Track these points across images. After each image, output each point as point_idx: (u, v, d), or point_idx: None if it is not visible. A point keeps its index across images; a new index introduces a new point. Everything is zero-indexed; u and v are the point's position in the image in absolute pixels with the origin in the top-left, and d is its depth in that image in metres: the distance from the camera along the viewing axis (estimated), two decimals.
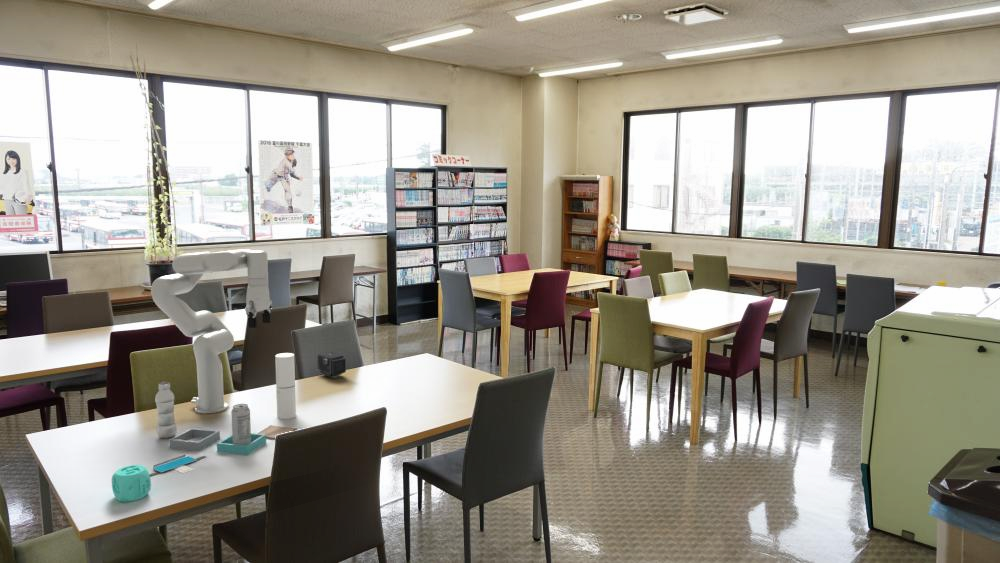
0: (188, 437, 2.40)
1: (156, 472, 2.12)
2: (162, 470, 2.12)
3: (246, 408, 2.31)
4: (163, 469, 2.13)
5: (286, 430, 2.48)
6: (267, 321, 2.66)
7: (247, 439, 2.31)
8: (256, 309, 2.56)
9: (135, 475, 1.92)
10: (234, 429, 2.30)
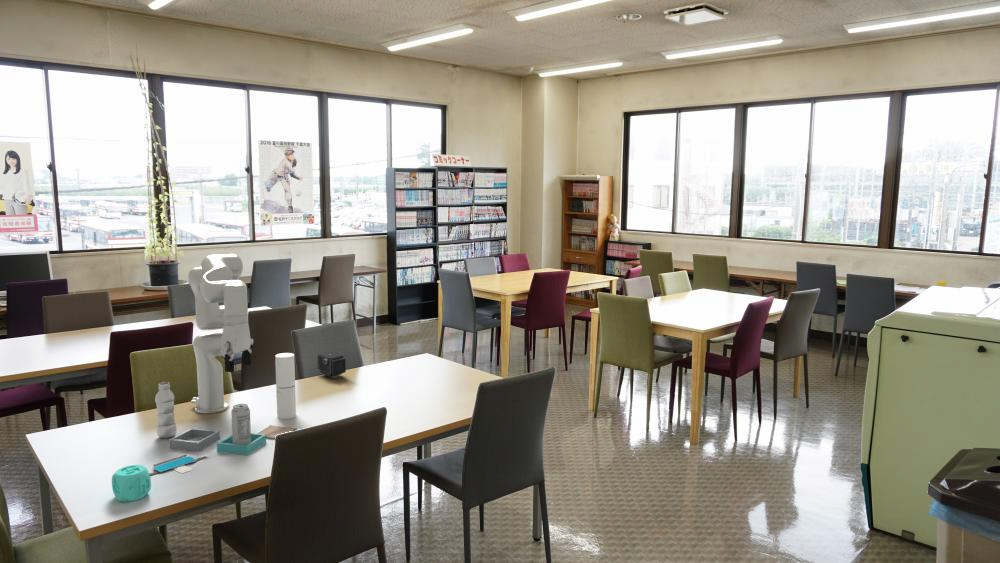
0: (188, 437, 2.40)
1: (155, 472, 2.12)
2: (161, 470, 2.12)
3: (246, 408, 2.31)
4: (162, 469, 2.13)
5: (286, 430, 2.48)
6: (247, 363, 2.34)
7: (247, 439, 2.31)
8: (233, 351, 2.24)
9: (135, 475, 1.92)
10: (234, 429, 2.30)
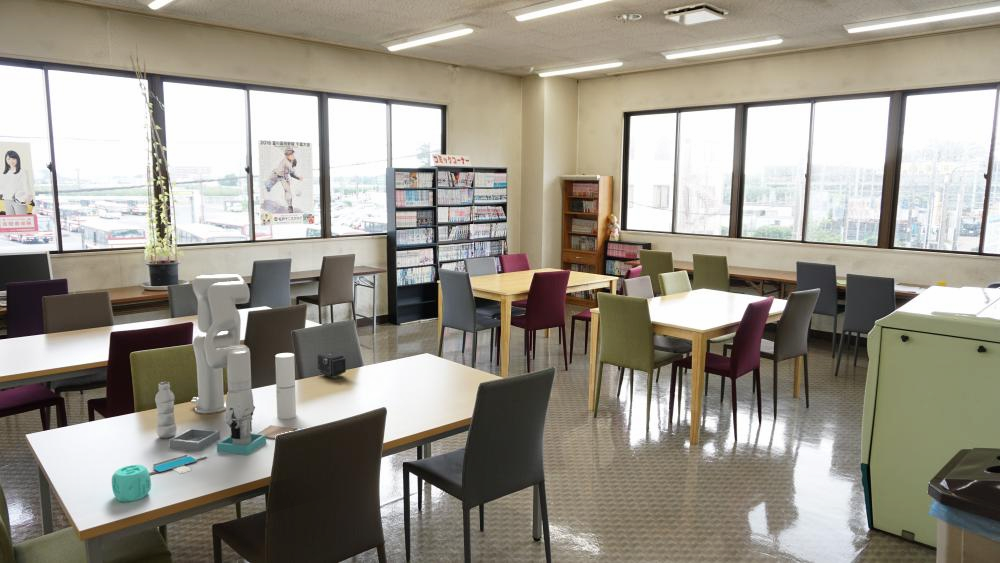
0: (188, 437, 2.40)
1: (155, 471, 2.12)
2: (161, 469, 2.12)
3: (246, 408, 2.31)
4: (162, 468, 2.13)
5: (286, 430, 2.48)
6: None
7: (247, 439, 2.31)
8: (237, 417, 2.27)
9: (135, 475, 1.92)
10: None
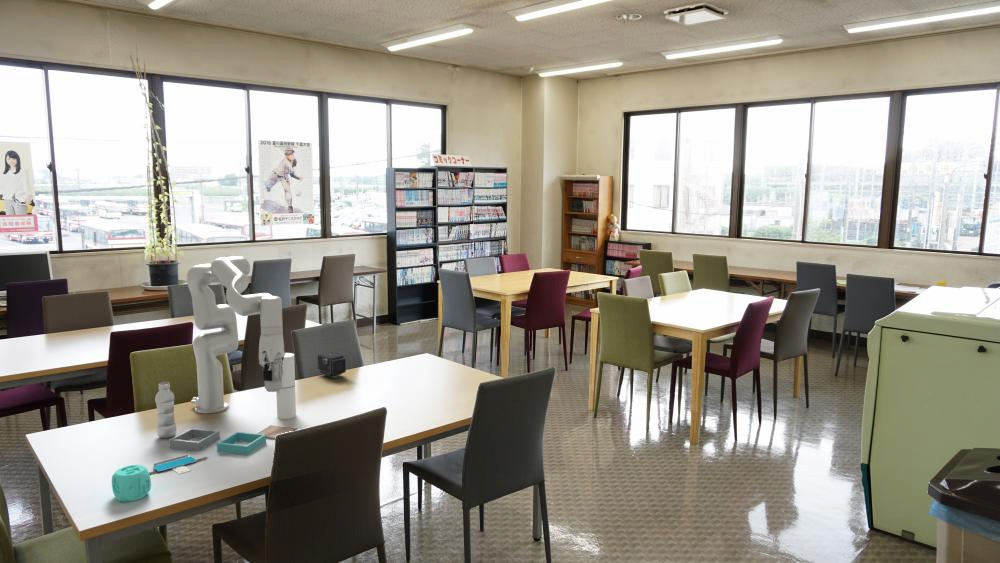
0: (188, 437, 2.40)
1: (154, 471, 2.12)
2: (160, 469, 2.12)
3: (278, 352, 2.42)
4: (161, 468, 2.13)
5: (286, 430, 2.48)
6: None
7: (278, 382, 2.42)
8: (269, 360, 2.38)
9: (135, 475, 1.92)
10: None
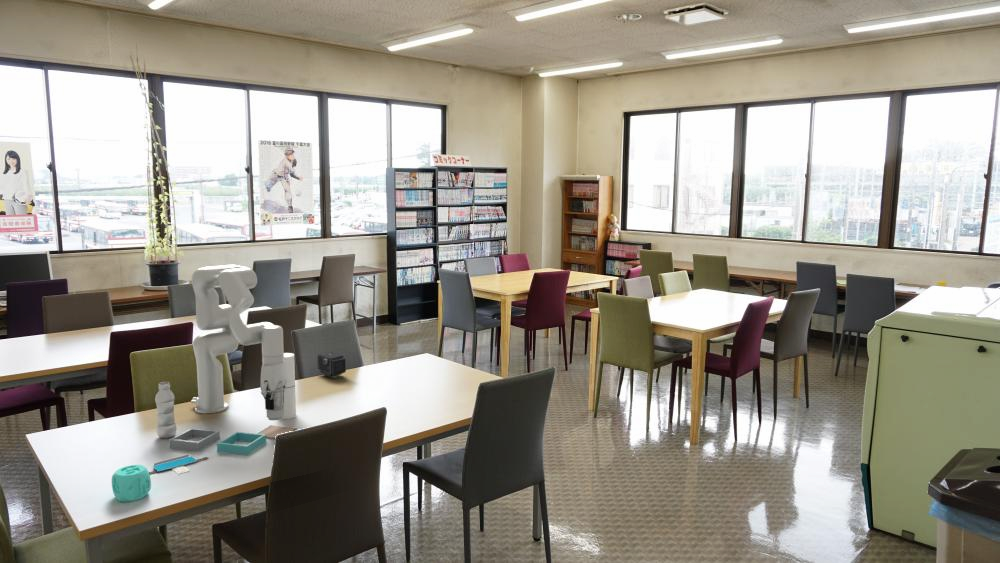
0: (188, 437, 2.40)
1: (154, 471, 2.12)
2: (160, 469, 2.12)
3: (279, 381, 2.44)
4: (161, 468, 2.13)
5: (286, 430, 2.48)
6: None
7: (280, 410, 2.44)
8: (271, 389, 2.40)
9: (135, 475, 1.92)
10: None
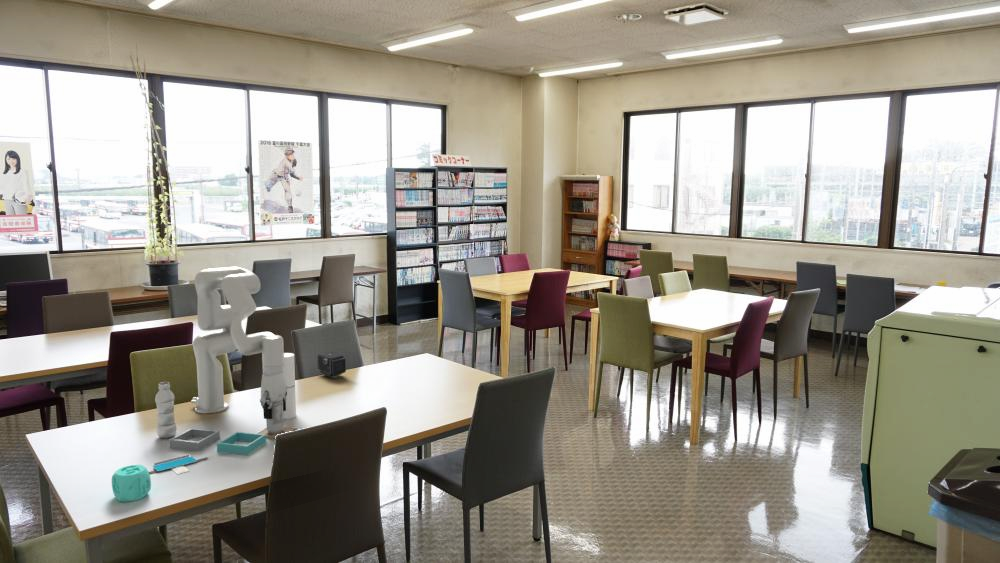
0: (188, 437, 2.40)
1: (154, 471, 2.13)
2: (159, 469, 2.12)
3: None
4: (161, 468, 2.13)
5: (286, 430, 2.48)
6: None
7: (280, 423, 2.45)
8: (271, 399, 2.40)
9: (135, 475, 1.92)
10: None
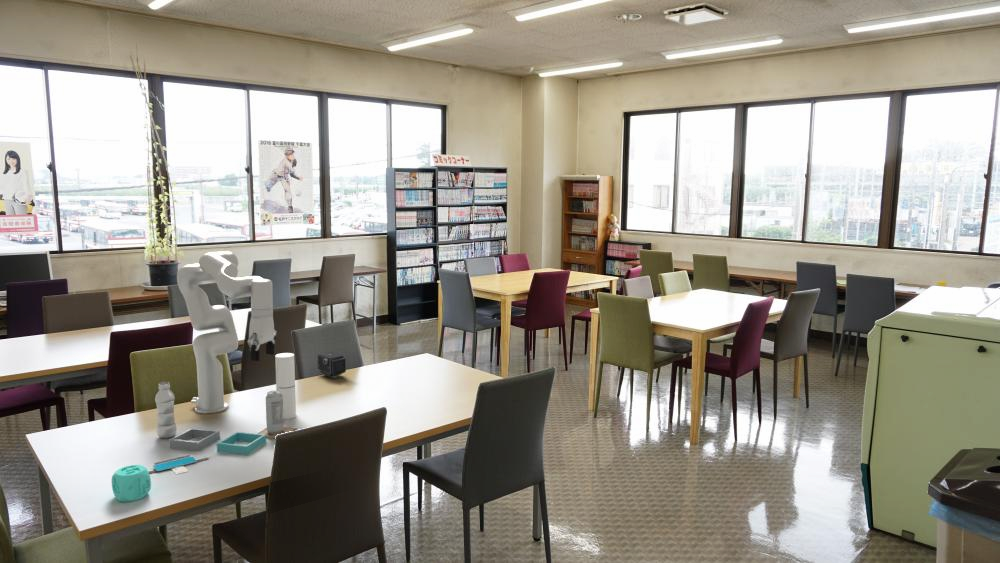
0: (188, 437, 2.40)
1: (154, 470, 2.13)
2: (159, 469, 2.13)
3: (279, 394, 2.44)
4: (161, 468, 2.13)
5: (286, 430, 2.48)
6: (271, 352, 2.52)
7: (280, 424, 2.45)
8: (259, 342, 2.42)
9: (135, 475, 1.92)
10: (268, 414, 2.43)
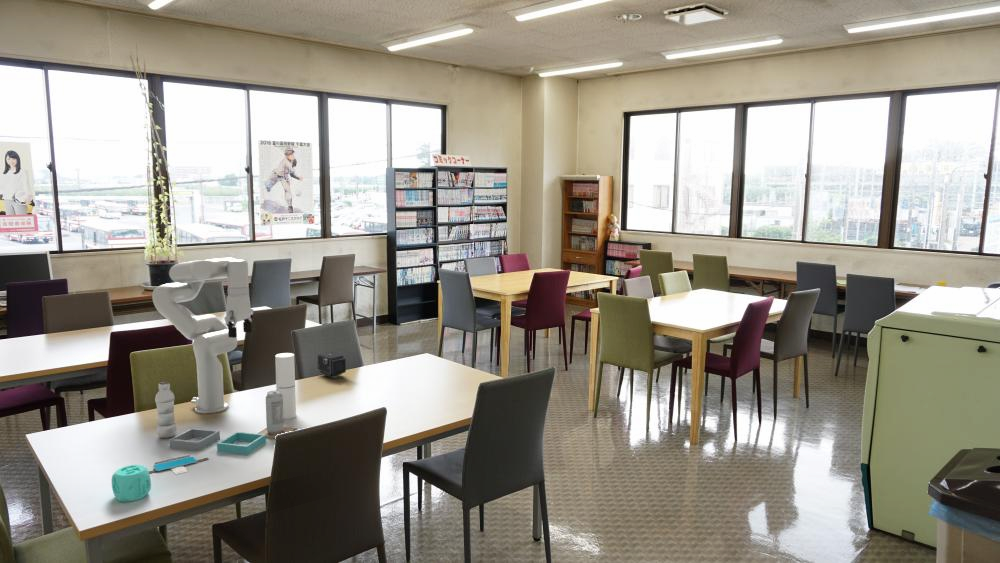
0: (188, 437, 2.40)
1: (153, 470, 2.13)
2: (159, 469, 2.13)
3: (279, 394, 2.44)
4: (160, 468, 2.13)
5: (286, 430, 2.48)
6: (248, 330, 2.64)
7: (280, 424, 2.45)
8: (236, 319, 2.54)
9: (135, 475, 1.92)
10: (268, 414, 2.43)
